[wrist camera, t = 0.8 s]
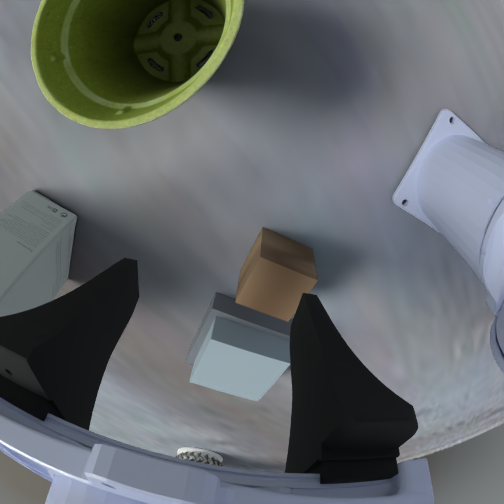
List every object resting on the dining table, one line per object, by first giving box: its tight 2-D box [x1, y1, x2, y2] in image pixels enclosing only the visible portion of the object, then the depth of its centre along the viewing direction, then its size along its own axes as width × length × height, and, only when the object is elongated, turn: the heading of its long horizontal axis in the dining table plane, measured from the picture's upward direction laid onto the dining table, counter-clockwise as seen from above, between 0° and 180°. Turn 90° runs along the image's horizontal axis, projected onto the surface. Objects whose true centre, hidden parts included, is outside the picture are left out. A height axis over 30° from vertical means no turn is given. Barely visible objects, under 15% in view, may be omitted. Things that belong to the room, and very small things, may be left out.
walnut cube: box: [235, 227, 318, 322], centre depth 21 cm, size 4×4×4 cm
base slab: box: [186, 292, 292, 365], centre depth 27 cm, size 8×8×2 cm
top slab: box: [190, 316, 291, 401], centre depth 25 cm, size 6×6×2 cm
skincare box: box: [0, 190, 77, 317], centre depth 17 cm, size 8×6×15 cm
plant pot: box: [31, 0, 245, 129], centre depth 11 cm, size 9×9×9 cm
